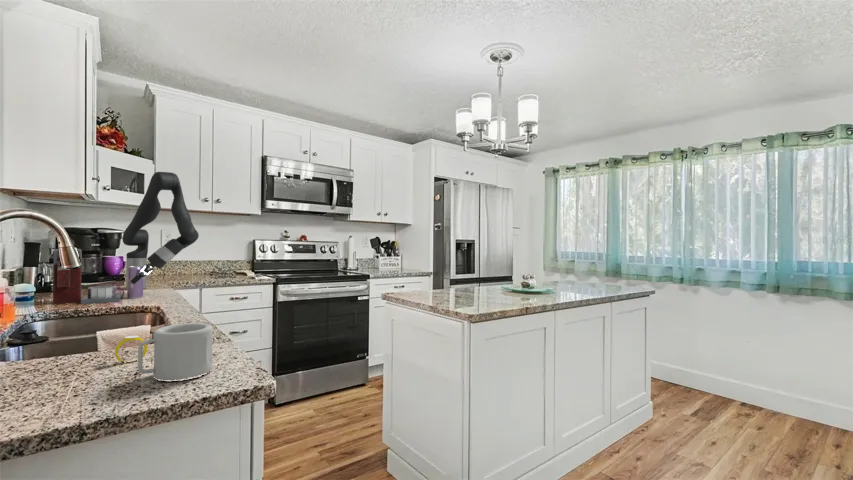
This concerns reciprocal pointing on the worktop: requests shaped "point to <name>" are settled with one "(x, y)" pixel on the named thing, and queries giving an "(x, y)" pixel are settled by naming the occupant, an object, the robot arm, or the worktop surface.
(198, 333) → the mug
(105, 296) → the transparent rectangular container
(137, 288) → the beverage can
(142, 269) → the robot arm
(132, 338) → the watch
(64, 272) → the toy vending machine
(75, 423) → the worktop surface
